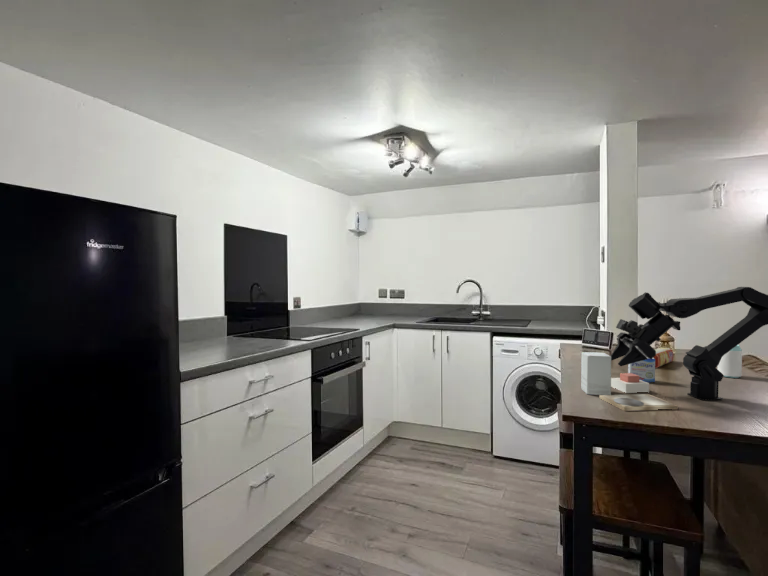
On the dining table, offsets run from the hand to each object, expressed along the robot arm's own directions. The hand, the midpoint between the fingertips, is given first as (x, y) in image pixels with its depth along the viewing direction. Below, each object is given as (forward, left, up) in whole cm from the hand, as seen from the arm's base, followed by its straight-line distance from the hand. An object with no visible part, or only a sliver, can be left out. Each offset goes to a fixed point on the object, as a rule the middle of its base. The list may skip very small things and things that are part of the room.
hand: (614, 362), depth 136 cm
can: (-57, -18, -10) cm, 60 cm away
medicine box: (-20, -15, -10) cm, 27 cm away
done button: (-8, -4, -8) cm, 12 cm away
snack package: (-46, -40, -11) cm, 62 cm away
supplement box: (+5, -2, -10) cm, 12 cm away
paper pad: (0, +11, -10) cm, 15 cm away
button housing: (-8, -4, -10) cm, 13 cm away
